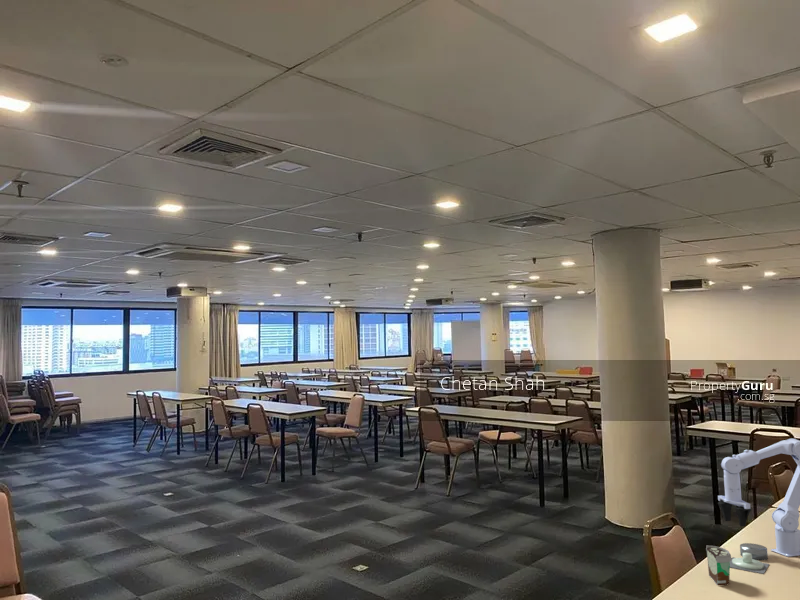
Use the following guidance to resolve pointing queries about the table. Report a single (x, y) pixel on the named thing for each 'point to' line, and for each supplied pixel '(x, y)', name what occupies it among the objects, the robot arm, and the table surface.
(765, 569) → the mat
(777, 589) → the table surface
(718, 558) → the food container
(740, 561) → the lid
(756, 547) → the tin
